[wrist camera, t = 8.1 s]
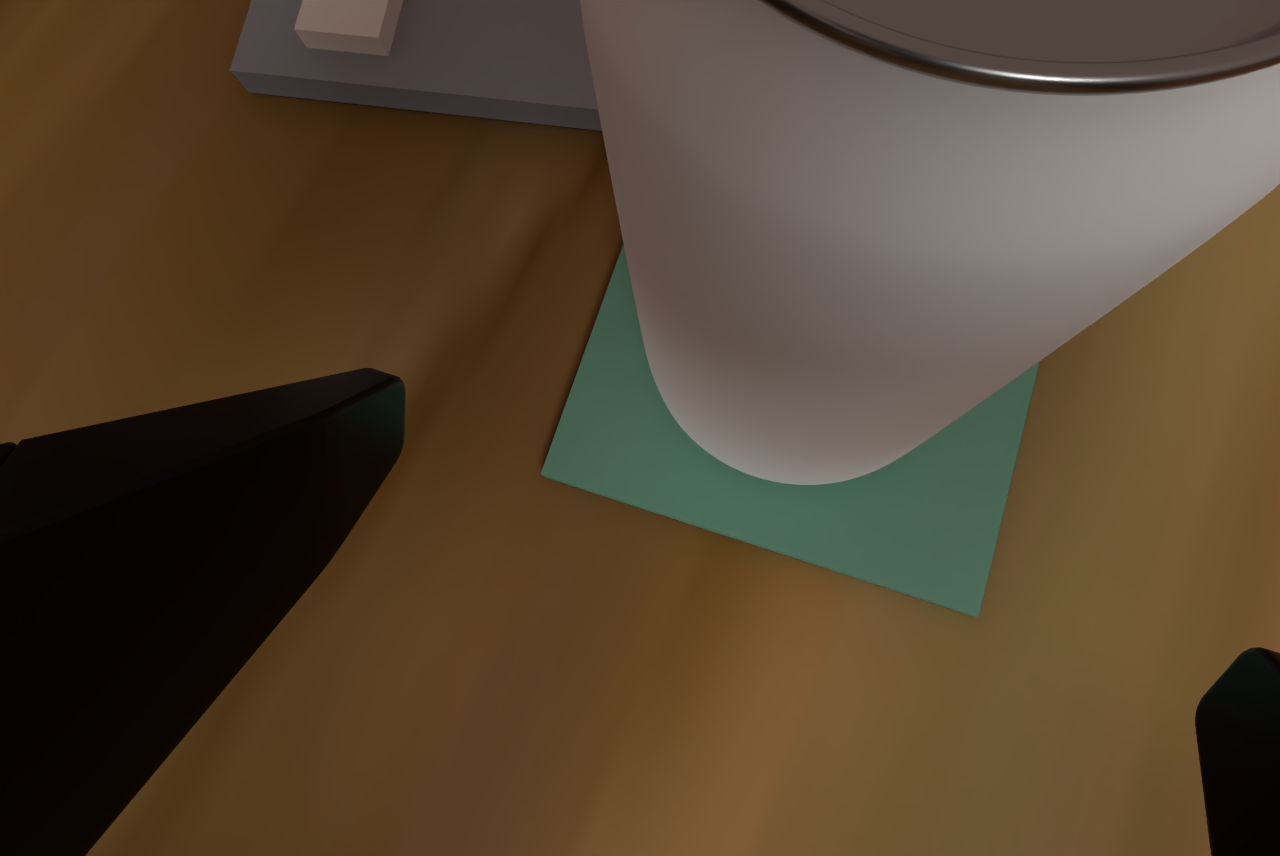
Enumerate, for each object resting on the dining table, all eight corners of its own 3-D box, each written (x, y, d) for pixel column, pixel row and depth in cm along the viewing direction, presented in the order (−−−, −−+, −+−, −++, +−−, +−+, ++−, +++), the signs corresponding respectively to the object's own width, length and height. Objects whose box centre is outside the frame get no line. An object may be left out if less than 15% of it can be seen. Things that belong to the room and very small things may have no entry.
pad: (973, 616, 15) (978, 616, 15) (543, 476, 16) (540, 474, 16) (1071, 210, 17) (1077, 203, 17) (674, 110, 18) (674, 102, 18)
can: (618, 231, 17) (458, -559, 6) (908, 168, 17) (1374, -781, 5) (680, 520, 16) (641, 276, 4) (998, 453, 16) (1915, -3, 4)
